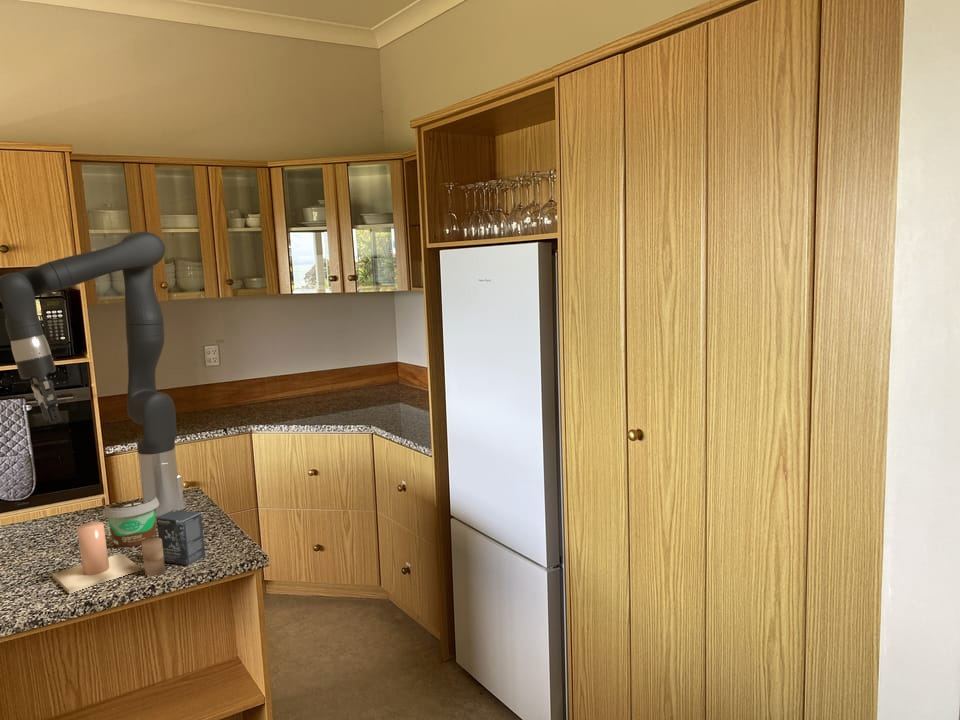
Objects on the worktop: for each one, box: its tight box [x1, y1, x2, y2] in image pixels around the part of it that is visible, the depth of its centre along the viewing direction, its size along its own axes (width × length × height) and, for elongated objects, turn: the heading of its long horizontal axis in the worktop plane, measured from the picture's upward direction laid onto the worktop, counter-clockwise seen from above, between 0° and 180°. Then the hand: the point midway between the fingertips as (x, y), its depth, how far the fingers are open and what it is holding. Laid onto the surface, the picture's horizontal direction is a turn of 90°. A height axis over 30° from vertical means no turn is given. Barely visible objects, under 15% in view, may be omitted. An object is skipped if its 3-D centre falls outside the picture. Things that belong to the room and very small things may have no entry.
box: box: [156, 509, 206, 567], centre depth 160 cm, size 8×6×11 cm
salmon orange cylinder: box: [76, 521, 109, 575], centre depth 154 cm, size 5×5×10 cm
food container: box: [102, 496, 159, 548], centre depth 171 cm, size 12×6×10 cm, turn 122°
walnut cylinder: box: [141, 537, 166, 577], centre depth 154 cm, size 4×4×7 cm
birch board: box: [52, 552, 141, 595], centre depth 154 cm, size 14×12×1 cm
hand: (53, 420), depth 173 cm, fingers open, 8 cm apart
